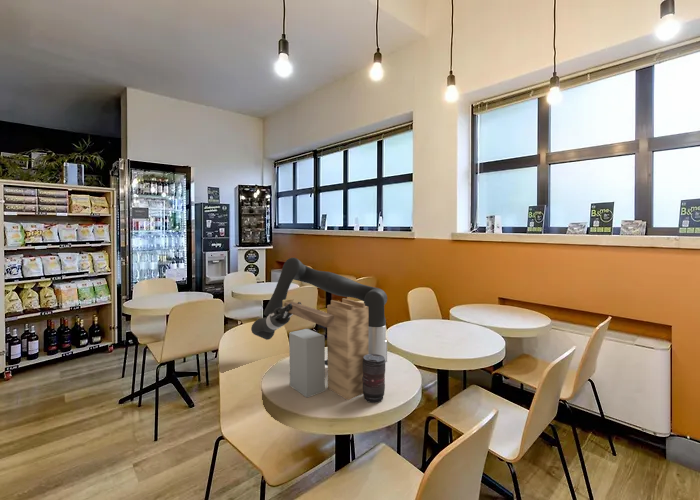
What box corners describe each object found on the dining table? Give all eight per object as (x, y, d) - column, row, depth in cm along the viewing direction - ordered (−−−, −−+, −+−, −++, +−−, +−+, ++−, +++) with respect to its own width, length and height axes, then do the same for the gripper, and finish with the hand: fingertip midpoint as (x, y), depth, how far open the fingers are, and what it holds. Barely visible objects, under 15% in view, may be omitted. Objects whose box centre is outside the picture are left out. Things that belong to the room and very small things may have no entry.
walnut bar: (291, 308, 142) (291, 298, 142) (335, 325, 119) (335, 312, 118) (281, 310, 139) (281, 299, 139) (324, 327, 116) (324, 314, 116)
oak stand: (348, 380, 137) (347, 297, 135) (368, 391, 128) (368, 302, 126) (327, 388, 131) (327, 301, 129) (347, 400, 121) (347, 306, 119)
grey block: (307, 380, 138) (306, 328, 136) (325, 390, 129) (324, 335, 127) (289, 385, 133) (289, 332, 131) (306, 397, 123) (306, 340, 122)
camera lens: (384, 405, 118) (384, 362, 117) (360, 402, 120) (360, 360, 119) (386, 394, 126) (386, 354, 125) (364, 392, 127) (364, 352, 127)
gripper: (260, 312, 143) (277, 298, 131) (290, 307, 152) (308, 293, 140) (264, 330, 141) (282, 317, 129) (294, 324, 150) (313, 311, 138)
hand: (295, 305), depth 134 cm, fingers closed on walnut bar, 3 cm apart
